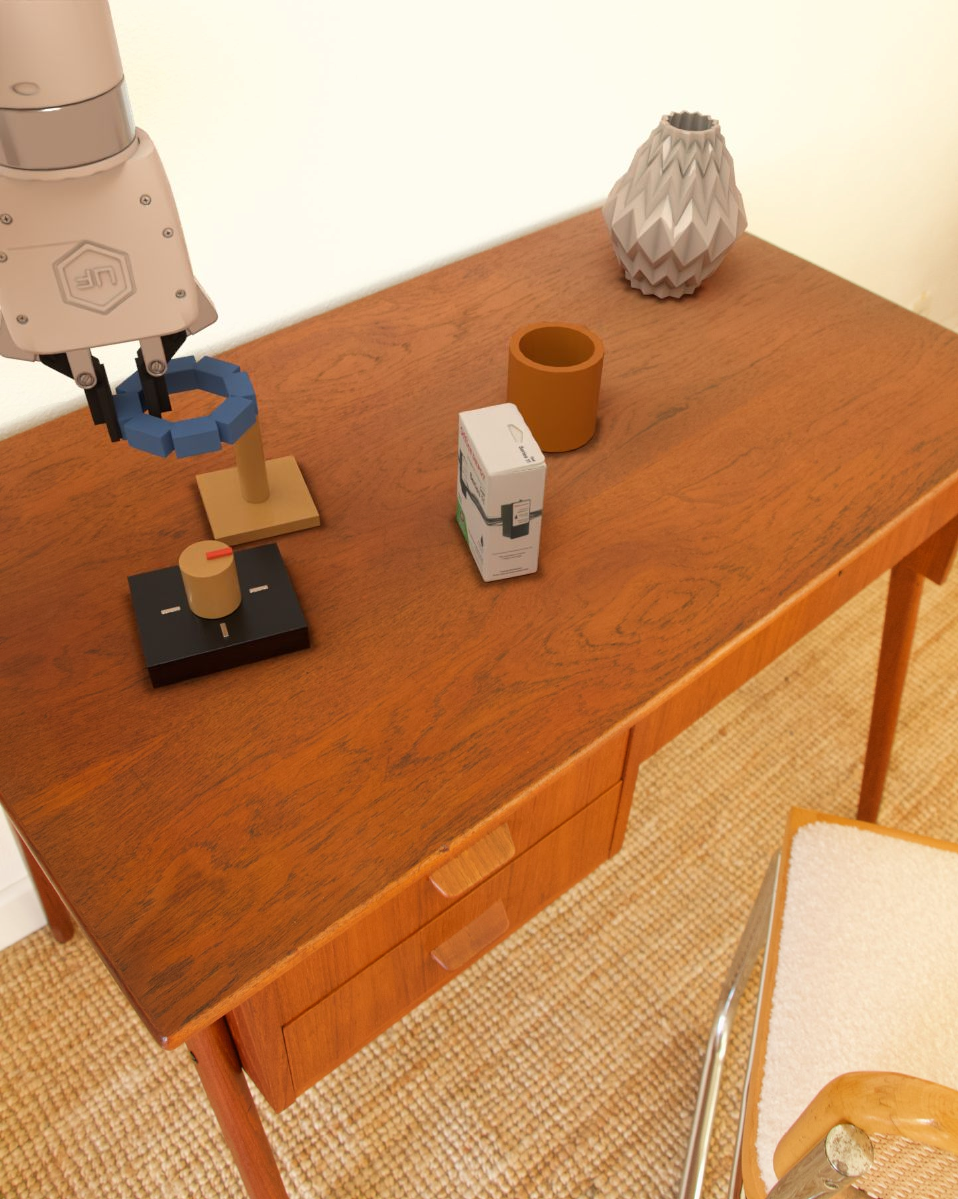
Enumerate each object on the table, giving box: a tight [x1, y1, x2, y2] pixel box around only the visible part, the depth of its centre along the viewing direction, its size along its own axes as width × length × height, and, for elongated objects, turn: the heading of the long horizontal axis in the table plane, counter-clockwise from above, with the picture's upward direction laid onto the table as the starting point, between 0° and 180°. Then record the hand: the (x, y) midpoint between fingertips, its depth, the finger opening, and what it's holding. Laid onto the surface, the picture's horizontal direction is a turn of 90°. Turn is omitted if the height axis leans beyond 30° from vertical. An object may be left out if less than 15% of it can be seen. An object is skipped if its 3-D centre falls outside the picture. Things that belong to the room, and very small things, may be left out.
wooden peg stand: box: [195, 414, 321, 547], centre depth 87 cm, size 9×9×11 cm
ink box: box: [456, 402, 548, 583], centre depth 84 cm, size 9×5×12 cm, turn 17°
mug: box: [506, 321, 606, 453], centre depth 98 cm, size 9×12×9 cm
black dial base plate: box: [126, 542, 311, 689], centre depth 80 cm, size 12×10×3 cm
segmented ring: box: [112, 355, 259, 460], centre depth 64 cm, size 8×8×2 cm
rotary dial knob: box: [178, 539, 242, 619], centre depth 77 cm, size 4×4×5 cm
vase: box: [601, 109, 749, 300], centre depth 114 cm, size 16×16×18 cm
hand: (135, 423), depth 63 cm, fingers closed on segmented ring, 2 cm apart
